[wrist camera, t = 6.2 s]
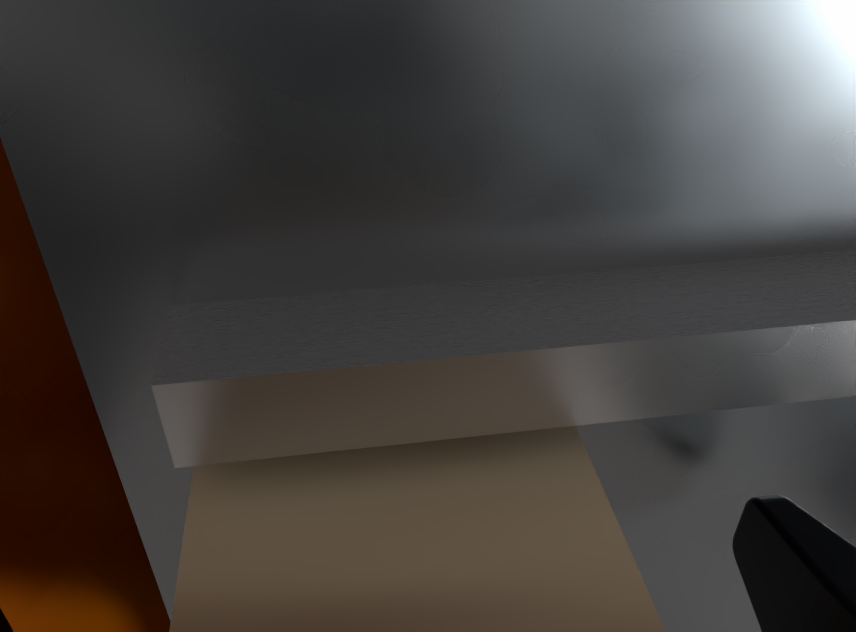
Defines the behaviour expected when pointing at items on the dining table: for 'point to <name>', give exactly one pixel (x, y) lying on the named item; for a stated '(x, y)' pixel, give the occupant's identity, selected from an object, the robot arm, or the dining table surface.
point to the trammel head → (410, 542)
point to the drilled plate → (458, 244)
